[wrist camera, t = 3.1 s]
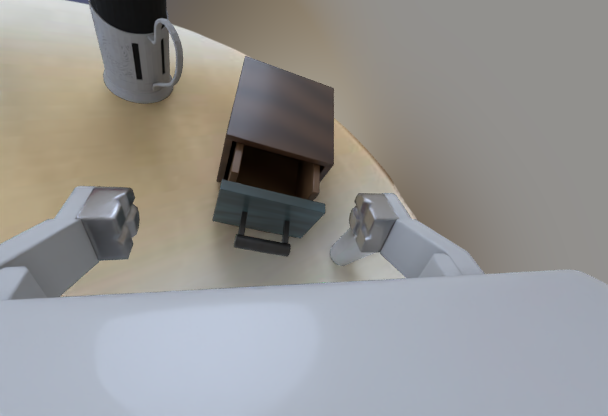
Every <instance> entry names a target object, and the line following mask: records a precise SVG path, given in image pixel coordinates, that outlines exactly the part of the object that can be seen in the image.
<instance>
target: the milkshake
mask: <svg viewBox="0 0 608 416" xmlns="http://www.w3.org/2000/svg"><path fill="white" fill-rule="evenodd" d="M356 237H357V235H355V234H354V233H353V232H352V231H351V228H349V229H348V230H347V231H346V232H345V233H344V234H343V235H342V236H341V237H340V238H339V239H338V240H337V241H336V242H335V243H334V244H333V245H332V247H331V250H330V255H331V259H332V260H333V261H334V262H335V263H336V264H337V265H342V266H345V265H347V264H350V263H352V262H354V261H356V260H359V259H361V258H363V257H366V256H369V255H371V254H374V253H376V252H360V250H359V247H358V245H357V243H356Z"/></svg>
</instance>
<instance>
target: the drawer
mask: <svg viewBox="0 0 608 416" xmlns="http://www.w3.org/2000/svg"><path fill="white" fill-rule="evenodd" d="M319 182H320V165H317V164H314V163H310V162H307V161H303V160H300V159H296V158H292V157H289V156H285V155H282V154H278V153H274V152H271V151H267V150H264V149H260V148H257V147H253V146H249V145H246V144H242V143H239V142H236V143H235V147H234V152H233V156H232V161H231V166H230V170H229V175H228V180H222V181H221V186H220V190H219V194H218V198H217V203H216V207H215V211H214V216H213V221H215V222H221V223H226V224H231V225H236V226H239V231H238V234H236V237H235V241H234V247H235V248H241V249H247V250H252V251H258V252H264V253H269V254H275V255H281V256H286V257H288V256H289V253H290V244H288V238H289V236H291V237H297V238H302V237H303V236H304V234H305V233H306V232H307V231H308V230H309V229H310V228H311V227H312V226H313V225H314V224H315V223H316V222H317V221H318V220H319V219H320V218H321V217H322V216H323V215H324V214H325V204H323V203H319V202H315V201H313V200H314V199H315V198H316V196H317V195H318V194H319ZM245 227H246V228H251V229H256V230H261V231H266V232H271V233H276V234H281V235H283V236H282V243H280V242H275V241H270V240H264V239H259V238H254V237H249V236H244V232H245Z"/></svg>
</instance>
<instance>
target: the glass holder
mask: <svg viewBox="0 0 608 416" xmlns="http://www.w3.org/2000/svg"><path fill="white" fill-rule="evenodd" d="M88 2H89V6H90V10H91V14H92V18H93V22H94V26H95V30H96V34H97V38H98V42H99V46H100V50H101V55H102V59H103V63H104V67H105V70H104V74H103V77H104V82H105V84H106V86H107V88H108V89H109V90H110V91H111V92H112V93H114V94H115V95H117V96H118V97H120V98H122V99H125V100H127V101H131V102H135V103H154V102H158V101H161V100H163V99H165V98H167V97H168V96H169V95H170V94H171V92H172V90H173V86H174V85H176V83H177V82H178V81H179V79H180V77H181V73H182V68H183V51H182V46H181V42H180V39H179V36H178V34H177V32H176V30H175V28H174V27H173V25H172V24H171V23H170V22H169V21H168V13H167V10H166V0H89V1H88ZM169 33H170V35H171V37H172V40H173V42H174V46H175V50H176V70H175V74H174V77H173V79H172V77H171V75H170V61H169Z"/></svg>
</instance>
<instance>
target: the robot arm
mask: <svg viewBox="0 0 608 416" xmlns="http://www.w3.org/2000/svg"><path fill="white" fill-rule="evenodd" d="M134 199H135V196H134V193H133V190H132V189H131V188H124V187H101V186H97V187H95V186H78V187H76V188H75V189H74V190H73V192H72V193H71V195H70V196H69V197H68V199H67V200H66V202H65V203H64V205H63V206H62V208H61V209H60V211H59V212H58V214H57V215H56V217H55V218H54V219H47V220H46V221H44V222H42V223H40V224H38V225H36V226H34V227H32V228H30V229H28V230H26V231H24V232H22V233H20V234H19V235H17V236H15V237H13V238H11V239H9V240H7V241H5V242H3V243H1V244H0V416H608V285H607V284H605V283H604V282H602V281H600V280H598V279H596V278H594V277H592V276H590V275H588V274H585V273H583V272H581V271H577V270H553V271H534V272H516V273H499V274H485V273H484V272H483V271H482V270H481V268H480V267H479V266H478V264H477V263H476V262H475V260H474V259H473V258H472V257H471V255H470V254H469V253H468V252H467V251H466V250H464V249H463V248H461V247H459V246H458V245H456V244H454V243H453V242H451V241H450V240H448V239H446V238H445V237H443V236H442V235H440V234H438V233H437V232H435V231H433V230H432V229H430V228H429V227H427V226H425V225H424V224H422V223H421V222H419V221H417V220H416V219H412V218H411V217H410V215H409V214H408V212H407V211H406V209H405V208H404V206H403V205H402V203H401V202H400V200H399V199H398V197H397V196H396V195H395V194H393V193H382V194H366V193H359V194H358V195H357V196H356V199H355V203H356V206H355V207H354V208H353V209H352V210H351V213H350V218H349V224H350V228H351V231H352V232H353V233H354V234H355V235H357V237H356V243H357V245H358V247H359V250H360V252H380V254H381V255H382V256H383V257H384V258H385V259H387V260H388V261H389V262H390V263H391V264H392V265H393V266H394V267H395V268H396V269H397V270H398V271H399V272H401V273H402V274H403V275H404V276H405V277H406V278H404V279H386V280H368V281H349V282H330V283H311V284H292V285H274V286H256V287H237V288H219V289H200V290H182V291H163V292H145V293H126V294H108V295H89V296H71V297H60V296H61V295H62V294H63V293H64V292H65V291H66V290H68V289H69V288H70V287H71V286H72V285H73V284H74V283H76V282H77V281H78V280H79V279H80V278H81V277H82V276H84V275H85V274H86V273H87V272H88V271H89V270H90V269H92V268H93V267H94V266H95V265H96V264H97V263H98V262H99V261H101V260H121V259H128V258H129V255H130V252H131V249H132V246H133V241H132V237H134V236H135V235H136V234H137V232H138V229H139V220H140V219H139V211H138V208H137V207H136V206H135V205H134V204H133V202H134Z"/></svg>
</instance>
